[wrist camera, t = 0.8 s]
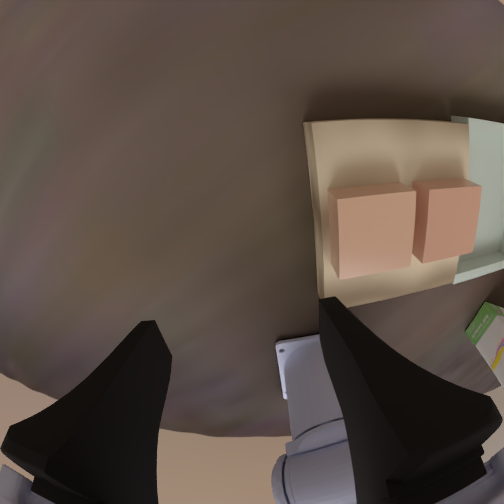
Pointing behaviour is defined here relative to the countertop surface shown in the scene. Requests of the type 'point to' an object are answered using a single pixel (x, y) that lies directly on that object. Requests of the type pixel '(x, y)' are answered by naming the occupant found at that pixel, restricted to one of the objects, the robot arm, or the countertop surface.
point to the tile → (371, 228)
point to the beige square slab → (380, 172)
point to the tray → (485, 198)
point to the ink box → (489, 337)
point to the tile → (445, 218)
